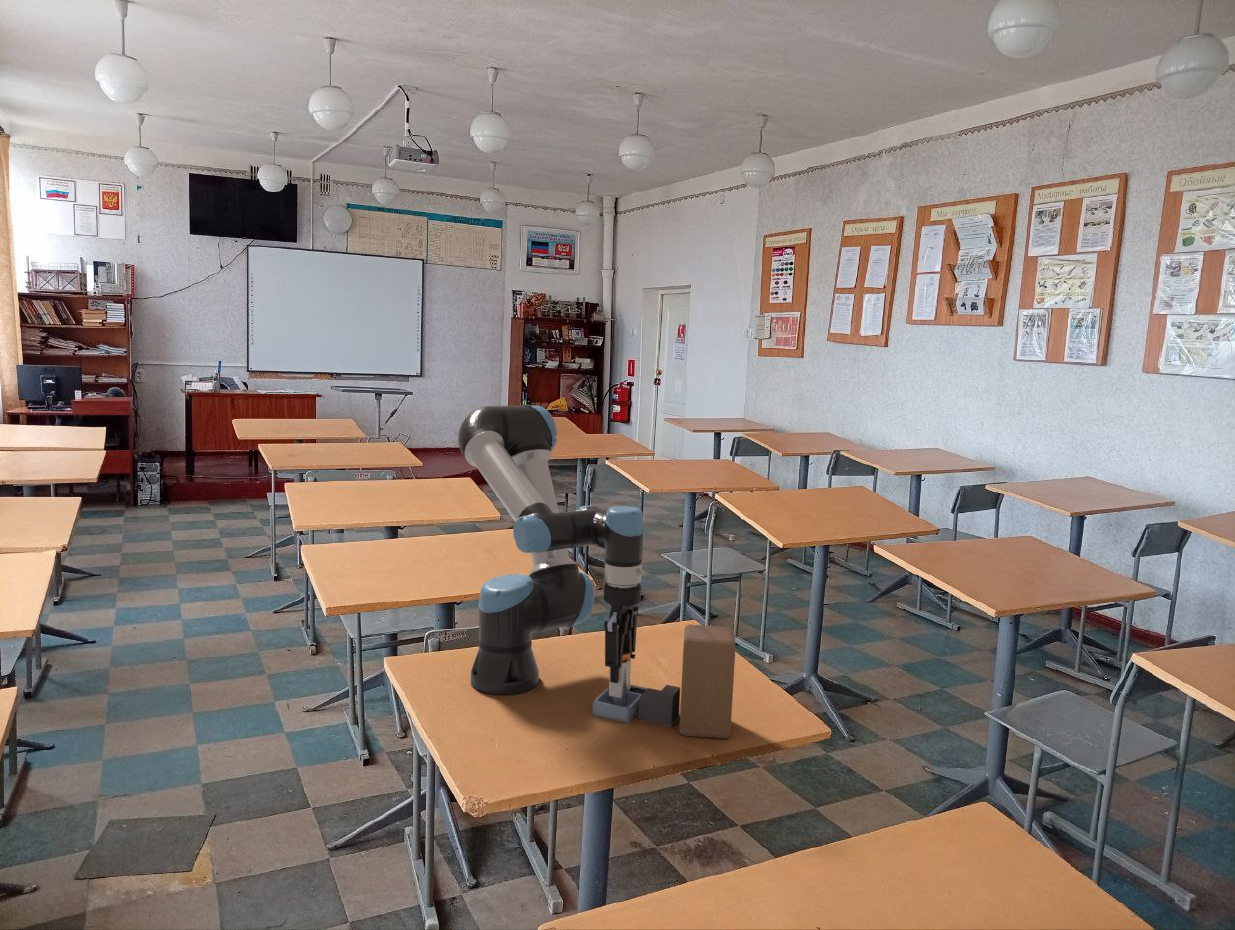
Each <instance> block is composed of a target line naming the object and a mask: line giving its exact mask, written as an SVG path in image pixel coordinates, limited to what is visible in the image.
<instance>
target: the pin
mask: <svg viewBox="0 0 1235 930" xmlns="http://www.w3.org/2000/svg"><path fill="white" fill-rule="evenodd" d="M629 660H631V658H630V653H629V652H627V651H623V654H622V664H621V666H623V693H622V697H621V698H619V697H614V696H610V704H613V705H618V706H623V707H627V698H628V674H629Z"/></svg>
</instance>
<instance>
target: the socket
mask: <svg viewBox="0 0 1235 930" xmlns="http://www.w3.org/2000/svg"><path fill="white" fill-rule="evenodd" d="M648 688H649V687H644V686H639V685H633V684H630V689H629V690H628V691H629V692H634V693H639V694H643V693H644V692H645V691H646V690H647V689H648Z"/></svg>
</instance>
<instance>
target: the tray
mask: <svg viewBox="0 0 1235 930" xmlns="http://www.w3.org/2000/svg"><path fill="white" fill-rule="evenodd" d="M641 695H642V694H639V693H634V692H629V691H628V698H627V707H623V706H618V705H613V704H610V696H609V686H608V687H607V688H605V690H603V691H602V692H601V693H600V694H599V695H598V696H597V697H596V698H594V699H593V701H592V716H594V717H599V718H604V719H609V720H612V721H619V722H623V723H626V724H629V723H630V722H631V721H632V720H633V719H634V718H635V717H636V715H638V714H639V699H640V696H641Z"/></svg>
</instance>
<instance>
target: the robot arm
mask: <svg viewBox="0 0 1235 930" xmlns="http://www.w3.org/2000/svg"><path fill="white" fill-rule="evenodd" d="M557 432H558V430H557V426H556V422H555V420H554V418H553V416H552V414H551V413H550V412H549V410H547V409H546V408H544V407H543V406H539V405H530V404H522V405H497V406H495V405H485V406H481V407H478V408H476V409H475V410H473V411H471V412H470V413H469V414H468V415H467V416H466V417H465V418H464V419H463V421H462V423H461V425H460V427H459V430H458V446H459V450H460V453H461V454H462V456H463V458H464V459H465V460H466V462H467V463H468V465H470V466H472V467H475V468H477V469H478V471H479V472H480V474H481V475H482V477H483V478H484V480H485V481H486V482H487V484H488V486H489V487H490V488H491V489H492V491H493V493H494V494H495V495H496V497H497V498H498V500H499V501H500V502H501V504H502V505H503V507H504V508H505V509H506V511H507V513H508V514H509V516H510V517H511V518H512V519H513V521H514V524H513V527H512V528H513V529H512V530H513V532H512V533H513V534H512V535H513V539H514V540H515V546H516V548H517V549H518V550H519V551H520V552H522V553H525V554H529V553H530V558H531V562H532V568H531V570H530V571H529V573H528V574H522V573H515V574H512V573H509V574H503V575H498V576H495V577H493V578H491V579H487V581H485V582H484V583H483V585H481V587H480V591H479V598H478V650H477V653H476V657H475V659H474V661H473V665H472V667H471V670H470V685H471V686H472V687H473V688H474V689H476V690H478V691H480V692H482V693H487V694H491V695H504V696H505V695H514V694H521V693H524V692H527V691H531V690H532V689H534V688H535V687H536V686H537V685H538V684H539V681H540V680H539V679H540V677H539V676H540V670H539V668H538V667H539V666H538V664H537V660H536V657H535V655H534V654H535V653H534V651H533V645H532V643H533V641H532V640H533V634H534V633H541V632H545V631H549V630H555V629H560V628H570V627H573V626H575V625H579V624H582V623H584V622H586V621H587V620H588V618H589V617H590V616H591V614H592V612H593V611H592V610H593V608H594V603H595V587H594V584H593V582H592V579H591V578H590V577H589V574H587V573H584V572H583V571H580V569H579V566H578V563H577V562H575V560H573V559H571V558H570V556H569V555H570V554H569V551H568V550H569V549H573V548H582V547H588V546H589V547H590V546H597V547H599V548H602V549H604V550H605V551H604V552H605V555H604V556H605V557H604V572H603V573H604V577H603V580H604V581H605V583H604V585H603V600H604V602H605V603H607V604H608V605H610V612H609V616H608V618H609V621H607V620H604V622H603V629H604V666H605V667H609V673H608V674H609V678H608V679H609V681H608V687H609V696H614V697H619V698H621V697H622V693H623V666H621V664H622V654H623V651H627V652H629V653H630V660H629V674H628V690H629V689H630V685H631V663H632V660H634V659H636V654H634V653H635V652H636V643H637V641H636V640H637V629H638V628H637V626H638V625H637V624H638V623H637V622H638V615H639V614H638V613H639V609H640V608H639V605H638V604H639V603H640V602H641V599H642V585H641V584H640V583H642V574H643V575H644V572H645V571H644V569H642V565H643V548H644V547H643V545H644V531H645V528H644V527H645V526H644V513H643V510H641V509H640V508H639V507H636V506H630V505H615V506H611V507H609V508H607V510H605V509H602V508H601V507H598V506H594V505H592V506H591V505H582V506H580V507H578V508H577V509H576V510H572V511H561V512H559V507H558V503H557V499H556V494H555V490H554V485H553V481H552V477H551V472H550V468H549V462H548V461H549V460H550V459H551V457H552V456H553V452H552V451H553V450H554V449H555V447H556V444H557V440H558V439H557V436H558V433H557ZM631 659H632V660H631Z"/></svg>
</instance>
